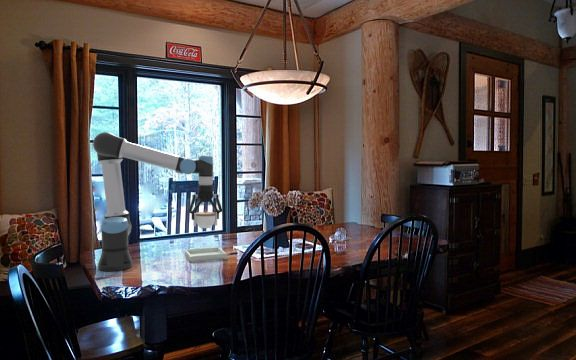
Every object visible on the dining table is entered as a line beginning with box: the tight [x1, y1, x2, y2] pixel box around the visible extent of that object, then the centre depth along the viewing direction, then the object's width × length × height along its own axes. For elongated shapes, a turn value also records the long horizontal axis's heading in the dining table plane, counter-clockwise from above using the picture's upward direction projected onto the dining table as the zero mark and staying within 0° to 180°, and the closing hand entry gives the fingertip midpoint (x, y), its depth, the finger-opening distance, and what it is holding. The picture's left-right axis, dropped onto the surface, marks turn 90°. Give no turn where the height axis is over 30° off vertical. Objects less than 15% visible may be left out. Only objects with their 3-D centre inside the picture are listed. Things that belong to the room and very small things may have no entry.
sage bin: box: [184, 246, 228, 263], centre depth 218 cm, size 19×19×3 cm
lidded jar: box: [194, 209, 216, 229], centre depth 220 cm, size 11×11×9 cm
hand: (205, 225), depth 220 cm, fingers closed on lidded jar, 11 cm apart
